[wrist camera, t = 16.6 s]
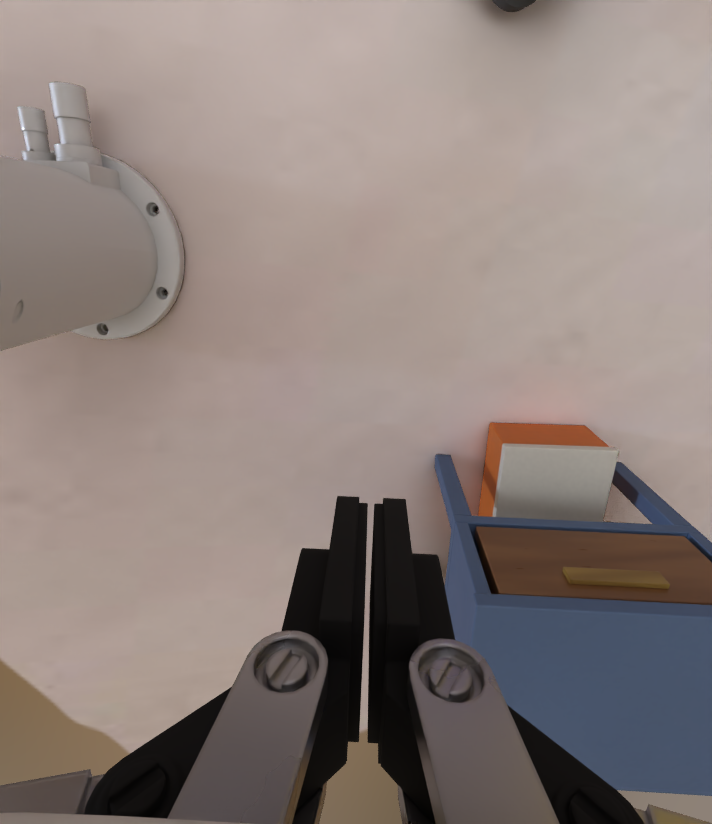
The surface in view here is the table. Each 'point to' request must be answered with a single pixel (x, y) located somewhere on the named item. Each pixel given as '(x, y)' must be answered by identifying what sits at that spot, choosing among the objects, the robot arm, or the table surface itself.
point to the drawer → (594, 565)
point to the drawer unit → (594, 653)
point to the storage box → (546, 472)
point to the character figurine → (513, 4)
